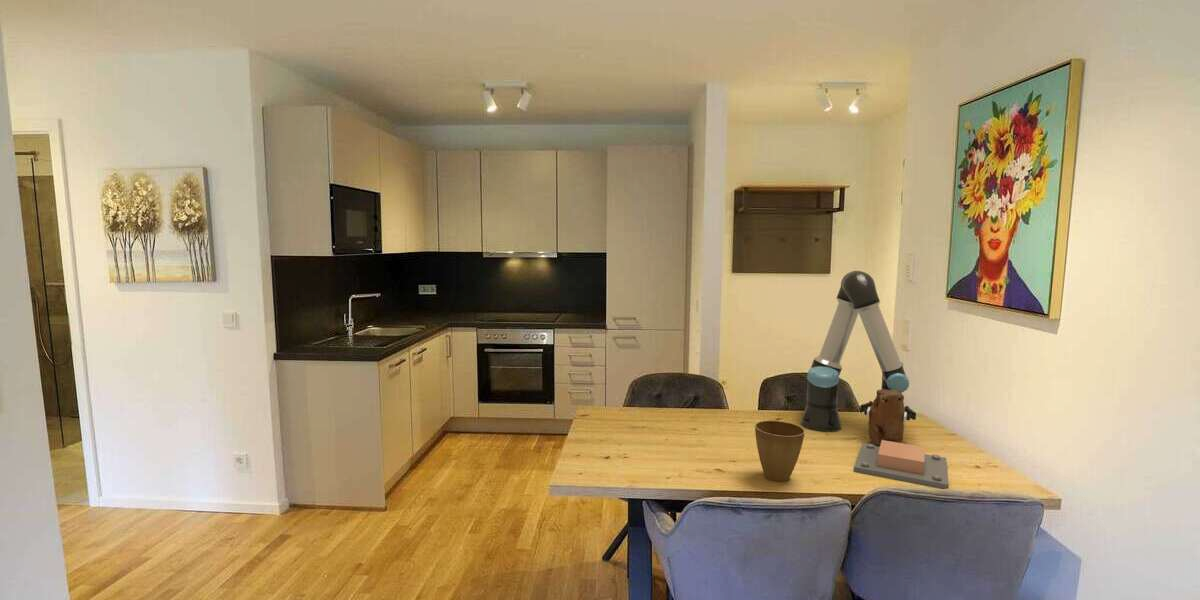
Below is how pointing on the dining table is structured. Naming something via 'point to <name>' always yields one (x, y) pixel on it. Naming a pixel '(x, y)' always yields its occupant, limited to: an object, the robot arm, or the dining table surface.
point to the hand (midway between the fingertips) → (886, 417)
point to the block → (886, 417)
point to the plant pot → (778, 448)
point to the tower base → (903, 474)
